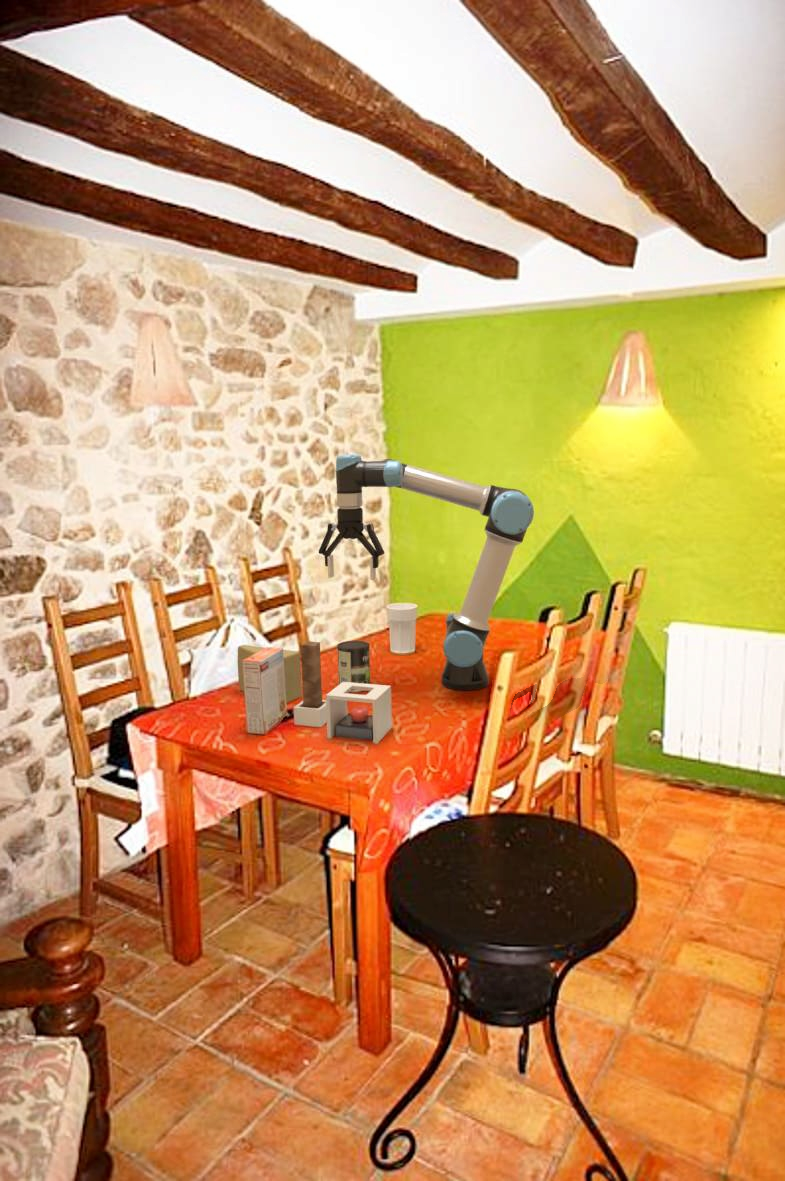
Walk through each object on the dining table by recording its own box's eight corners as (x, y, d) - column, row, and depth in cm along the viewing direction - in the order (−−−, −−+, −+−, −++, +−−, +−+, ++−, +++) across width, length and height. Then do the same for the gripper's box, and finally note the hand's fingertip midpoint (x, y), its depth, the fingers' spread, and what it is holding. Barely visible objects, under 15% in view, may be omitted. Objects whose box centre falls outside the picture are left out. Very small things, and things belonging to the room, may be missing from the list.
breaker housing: (383, 728, 220) (382, 716, 219) (371, 740, 211) (371, 728, 211) (349, 725, 223) (348, 713, 222) (336, 737, 214) (336, 724, 214)
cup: (423, 650, 298) (423, 604, 295) (407, 657, 289) (407, 610, 286) (397, 646, 304) (397, 601, 301) (381, 653, 295) (380, 607, 292)
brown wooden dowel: (322, 717, 228) (319, 642, 224) (317, 722, 224) (314, 645, 220) (309, 716, 229) (306, 641, 225) (303, 720, 225) (300, 644, 221)
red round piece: (370, 728, 218) (370, 707, 217) (365, 734, 214) (364, 713, 213) (355, 726, 220) (354, 706, 219) (348, 732, 215) (348, 711, 214)
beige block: (229, 694, 252) (226, 647, 250) (250, 685, 260) (248, 640, 257) (282, 705, 240) (280, 657, 237) (303, 696, 248) (301, 649, 245)
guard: (391, 727, 220) (390, 685, 218) (377, 743, 209) (375, 699, 207) (344, 722, 225) (343, 681, 222) (327, 738, 214) (325, 695, 211)
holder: (332, 717, 229) (331, 700, 228) (320, 727, 222) (320, 710, 221) (306, 715, 232) (305, 698, 231) (294, 724, 224) (293, 707, 223)
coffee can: (373, 683, 260) (372, 640, 258) (366, 693, 250) (365, 649, 248) (343, 681, 262) (341, 639, 260) (334, 691, 253) (333, 648, 250)
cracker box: (269, 716, 231) (265, 646, 227) (288, 718, 229) (284, 647, 225) (245, 733, 218) (240, 659, 214) (265, 735, 216) (261, 660, 212)
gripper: (393, 506, 237) (395, 577, 242) (316, 505, 245) (318, 574, 249) (385, 509, 230) (387, 581, 235) (306, 508, 238) (308, 578, 242)
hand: (351, 578), depth 242 cm, fingers open, 13 cm apart
